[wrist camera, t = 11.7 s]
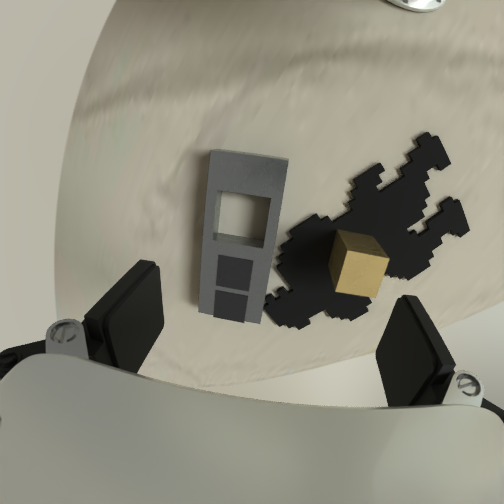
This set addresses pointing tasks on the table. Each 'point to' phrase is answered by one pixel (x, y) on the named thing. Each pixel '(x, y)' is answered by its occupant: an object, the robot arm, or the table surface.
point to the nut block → (357, 264)
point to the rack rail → (235, 247)
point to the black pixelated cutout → (372, 224)
